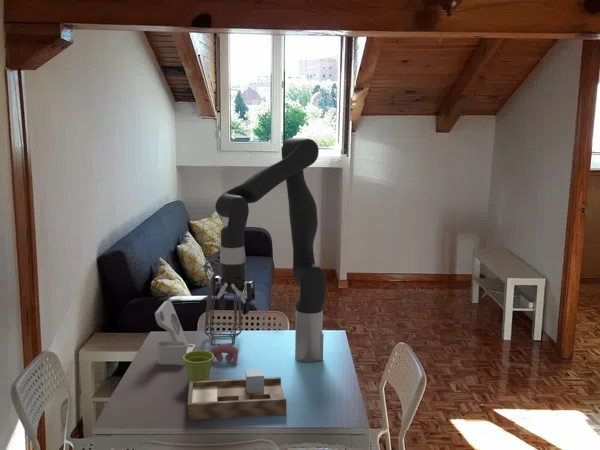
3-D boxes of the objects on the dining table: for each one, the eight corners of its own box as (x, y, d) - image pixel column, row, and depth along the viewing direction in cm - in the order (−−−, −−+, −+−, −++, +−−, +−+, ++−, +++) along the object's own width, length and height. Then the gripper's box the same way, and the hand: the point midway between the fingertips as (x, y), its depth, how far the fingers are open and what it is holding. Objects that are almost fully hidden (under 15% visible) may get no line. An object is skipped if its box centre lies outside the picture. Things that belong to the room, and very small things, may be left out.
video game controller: (238, 366, 207) (240, 345, 209) (236, 365, 202) (237, 343, 204) (209, 364, 208) (211, 343, 210) (206, 363, 203) (208, 342, 205)
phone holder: (185, 365, 203) (184, 313, 200) (155, 364, 203) (153, 312, 200) (195, 346, 220) (195, 298, 217) (168, 345, 220) (166, 297, 217)
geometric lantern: (203, 333, 233) (204, 243, 227) (244, 334, 234) (246, 244, 229) (200, 348, 217) (201, 252, 212) (244, 348, 219) (247, 253, 213)
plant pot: (219, 378, 193) (219, 352, 191) (205, 391, 184) (204, 363, 182) (193, 374, 196) (192, 348, 194) (178, 386, 187) (177, 359, 185)
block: (262, 384, 182) (262, 368, 181) (264, 392, 177) (264, 375, 176) (245, 385, 181) (245, 369, 180) (246, 392, 176) (246, 376, 175)
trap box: (280, 391, 184) (280, 377, 184) (286, 414, 170) (286, 399, 169) (189, 395, 181) (189, 381, 180) (187, 420, 166) (187, 404, 165)
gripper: (259, 260, 184) (259, 312, 187) (221, 255, 191) (222, 305, 194) (245, 265, 178) (246, 319, 181) (206, 260, 184) (207, 311, 187)
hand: (233, 311), depth 187 cm, fingers open, 8 cm apart
